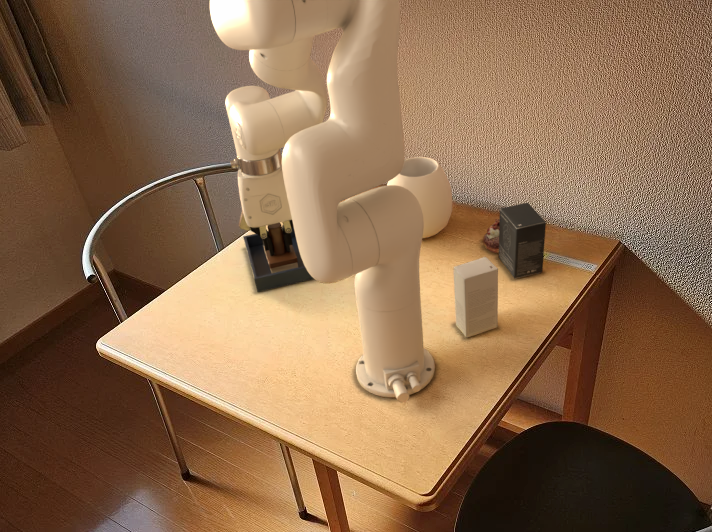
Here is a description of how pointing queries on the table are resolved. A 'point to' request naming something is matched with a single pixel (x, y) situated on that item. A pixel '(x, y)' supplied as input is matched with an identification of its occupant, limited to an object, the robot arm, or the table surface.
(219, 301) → the table surface
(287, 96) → the robot arm
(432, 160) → the white vase
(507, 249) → the box
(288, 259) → the peg on plate
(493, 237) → the pastry
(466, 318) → the cosmetic box
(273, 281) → the tray
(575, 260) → the table surface
